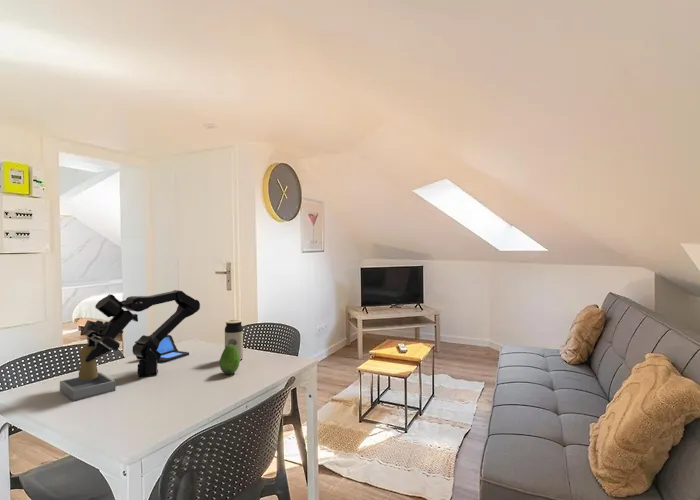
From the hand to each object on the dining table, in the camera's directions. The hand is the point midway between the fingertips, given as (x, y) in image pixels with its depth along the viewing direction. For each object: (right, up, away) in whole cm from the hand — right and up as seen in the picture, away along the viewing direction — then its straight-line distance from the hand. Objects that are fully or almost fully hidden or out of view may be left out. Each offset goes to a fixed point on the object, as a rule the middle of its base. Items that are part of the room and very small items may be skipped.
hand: (83, 360), depth 135 cm
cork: (+1, -7, +1) cm, 7 cm away
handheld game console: (+9, -12, +44) cm, 46 cm away
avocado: (+46, -11, +19) cm, 51 cm away
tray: (+1, -11, +1) cm, 11 cm away
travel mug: (+42, -11, +39) cm, 58 cm away
